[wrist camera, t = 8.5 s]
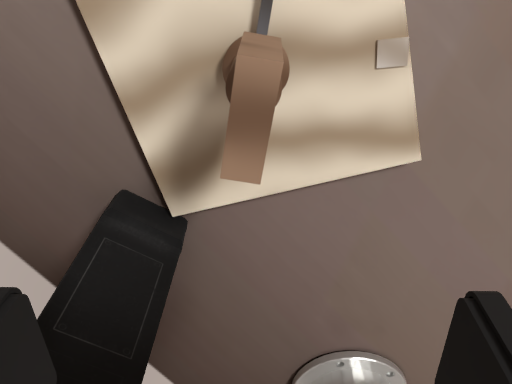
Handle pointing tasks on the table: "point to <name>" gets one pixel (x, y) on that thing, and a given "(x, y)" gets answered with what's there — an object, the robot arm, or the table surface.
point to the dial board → (292, 98)
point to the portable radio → (114, 294)
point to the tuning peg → (252, 98)
